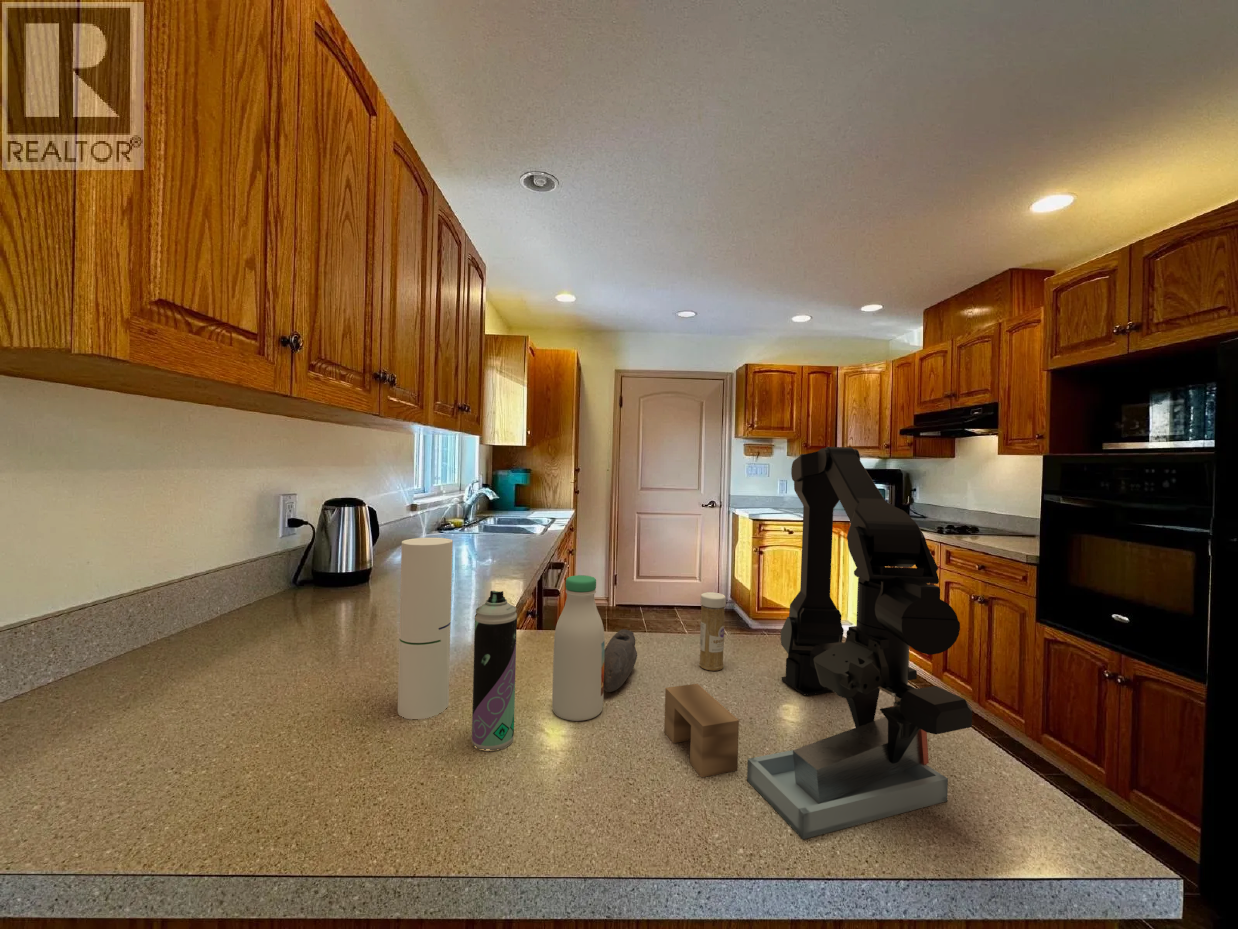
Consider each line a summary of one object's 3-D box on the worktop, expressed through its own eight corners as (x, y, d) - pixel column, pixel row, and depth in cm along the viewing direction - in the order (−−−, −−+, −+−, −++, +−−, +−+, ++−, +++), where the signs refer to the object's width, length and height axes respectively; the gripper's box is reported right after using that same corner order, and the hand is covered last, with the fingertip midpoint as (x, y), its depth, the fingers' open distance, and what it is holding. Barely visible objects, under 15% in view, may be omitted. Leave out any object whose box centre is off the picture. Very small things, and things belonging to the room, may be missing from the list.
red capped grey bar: (895, 742, 66) (892, 705, 65) (928, 763, 61) (926, 724, 61) (793, 781, 61) (790, 741, 60) (822, 807, 56) (818, 765, 56)
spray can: (476, 755, 65) (480, 598, 65) (467, 734, 70) (471, 588, 70) (518, 745, 67) (522, 594, 67) (507, 726, 72) (511, 584, 72)
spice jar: (720, 673, 92) (722, 599, 92) (696, 668, 94) (698, 595, 94) (725, 664, 97) (728, 593, 96) (702, 660, 98) (704, 590, 98)
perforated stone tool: (620, 703, 80) (621, 658, 80) (588, 698, 82) (589, 654, 82) (640, 666, 95) (641, 629, 95) (613, 662, 96) (614, 625, 96)
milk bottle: (596, 725, 73) (599, 585, 73) (544, 719, 75) (548, 581, 74) (608, 701, 81) (611, 574, 80) (561, 695, 82) (564, 570, 82)
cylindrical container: (458, 703, 79) (462, 540, 78) (422, 724, 72) (427, 546, 72) (423, 692, 82) (427, 536, 81) (386, 712, 75) (390, 542, 75)
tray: (876, 753, 68) (877, 733, 68) (947, 801, 59) (948, 778, 59) (747, 780, 61) (747, 758, 61) (803, 839, 52) (803, 814, 52)
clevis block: (696, 726, 74) (697, 683, 74) (737, 770, 63) (738, 720, 63) (664, 732, 72) (665, 687, 72) (701, 777, 62) (702, 726, 62)
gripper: (777, 605, 68) (774, 723, 68) (897, 659, 50) (891, 817, 50) (845, 600, 71) (841, 712, 72) (978, 648, 54) (973, 796, 54)
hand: (878, 752), depth 62 cm, fingers closed on red capped grey bar, 4 cm apart
